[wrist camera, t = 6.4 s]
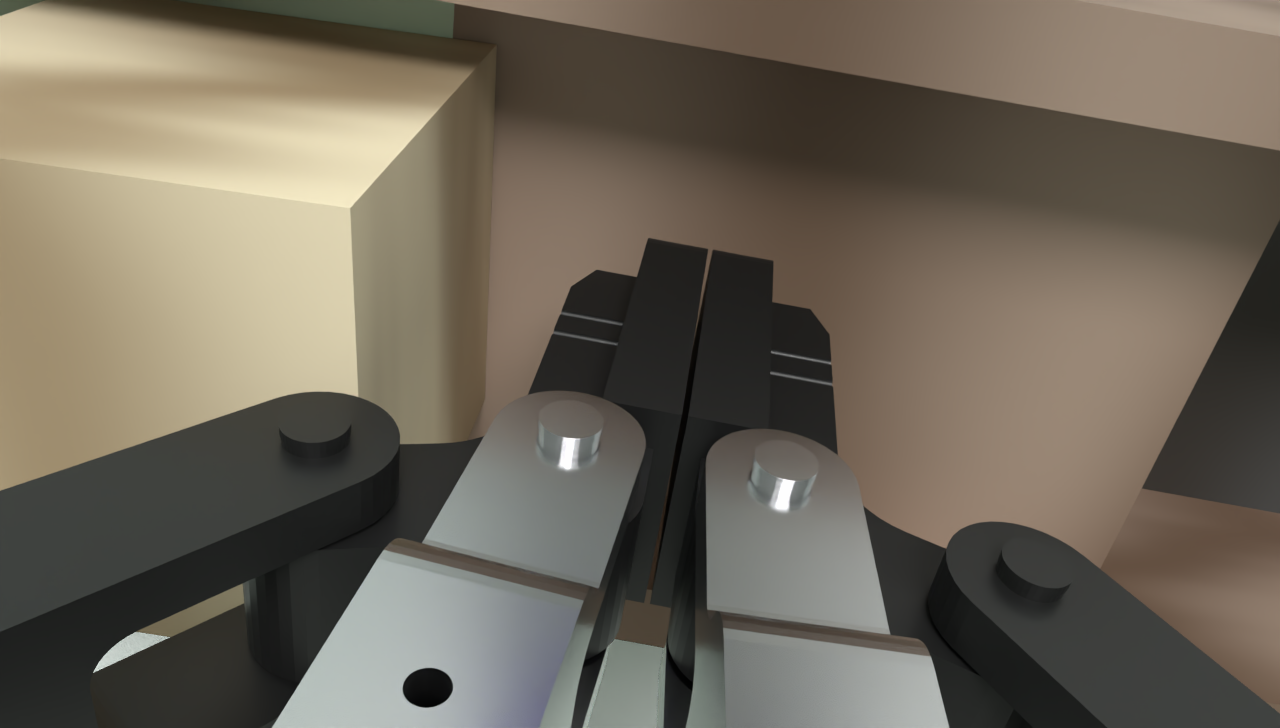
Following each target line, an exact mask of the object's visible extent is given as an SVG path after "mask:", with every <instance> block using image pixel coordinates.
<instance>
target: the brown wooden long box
mask: <svg viewBox="0 0 1280 728" xmlns="http://www.w3.org/2000/svg"><path fill="white" fill-rule="evenodd" d="M42 1H45V0H0V16H2V15H5V14H8V13H11V12H14V11H16V10H19V9H22V8H25V7H28V6H31V5H33V4H36V3H39V2H42ZM174 1H181V2H189V3H196V4H203V5H211V6H218V7H225V8H233V9H240V10H247V11H255V12H262V13H269V14H277V15H284V16H291V17H299V18H306V19H313V20H321V21H328V22H335V23H343V24H350V25H357V26H365V27H372V28H379V29H387V30H394V31H401V32H409V33H416V34H423V35H431V36H438V37H445V38H453V39H460V40H467V41H474V42H482V43H489V44H496V45H497V54H496V83H495V113H494V143H493V172H492V202H491V231H490V261H489V290H488V320H487V349H486V379H485V400H484V402H483V405H482V407H481V410H480V412H479V414H478V417H477V419H476V421H475V424H474V426H473V428H472V431H471V433H470V435H469V438H468V440H472V439H475V438H479V437H483V436H485V434H486V432H487V431H488V429H489V427H490V425H491V424H492V422H493V420H494V418H495V417H496V415H497V414H498V413H499V412H500V410H501V409H502V408H504V407H505V406H506V405H507V404H509V403H510V402H512V401H514V400H516V399H518V398H520V397H523V396H526V395H528V393H529V390H530V388H531V385H532V383H533V380H534V378H535V375H536V373H537V370H538V368H539V365H540V363H541V360H542V358H543V355H544V353H545V350H546V348H547V345H548V343H549V340H550V338H551V335H552V334H553V332H554V328H555V325H556V323H557V320H558V318H559V315H561V311H562V308H563V305H564V303H565V300H566V298H567V295H568V293H569V290H570V288H571V286H572V285H574V284H576V283H577V282H579V281H580V280H582V279H583V278H585V277H586V276H588V275H589V274H591V273H592V272H594V271H595V270H602V271H607V272H612V273H618V274H623V275H629V276H634V277H637V275H638V271H639V268H640V264H641V261H642V257H643V254H644V250H645V247H646V243H647V240H648V238H652V239H658V240H663V241H668V242H674V243H679V244H685V245H690V246H696V247H701V248H706V249H708V254H707V260H706V267H705V273H704V279H703V285H702V292H701V298H700V304H699V311H698V317H697V323H696V329H697V324H698V319H699V314H700V309H701V304H702V299H703V294H704V289H705V284H706V279H707V274H708V269H709V264H710V259H711V255H712V251H713V250H718V251H724V252H729V253H735V254H740V255H745V256H751V257H756V258H762V259H767V260H773V264H774V265H773V299H772V302H775V303H781V304H786V305H791V306H797V307H802V308H808V309H811V311H812V312H813V313H814V315H815V316H816V317H817V318H818V320H819V321H820V322H821V324H822V325H823V326H824V328H825V329H826V330H827V332H828V333H829V334H830V347H831V364H830V365H832V376H833V382H832V386H833V391H834V406H835V420H836V435H837V450H838V456H839V457H840V458H841V459H842V460H843V461H844V462H845V463H846V464H847V465H848V466H849V467H850V469H851V470H852V472H853V473H854V475H855V477H856V479H857V482H858V485H859V488H860V493H861V498H862V503H863V506H864V507H865V508H867V509H868V510H869V511H870V512H872V513H873V514H875V515H876V516H877V517H879V518H880V519H882V520H884V521H885V522H887V523H889V524H890V525H892V526H894V527H896V528H899V529H901V530H903V531H905V532H907V533H910V534H912V535H914V536H917V537H919V538H921V539H924V540H926V541H929V542H931V543H933V544H936V545H938V546H941V547H943V548H945V549H946V548H947V545H948V543H949V541H950V539H951V538H952V536H953V535H954V534H955V533H957V532H958V531H959V530H960V529H962V528H964V527H966V526H968V525H972V524H975V523H979V522H990V521H993V522H1007V523H1014V524H1019V525H1023V526H1026V527H1030V528H1033V529H1036V530H1039V531H1041V532H1044V533H1046V534H1049V535H1051V536H1053V537H1055V538H1057V539H1059V540H1061V541H1062V542H1064V543H1066V544H1067V545H1069V546H1071V547H1072V548H1074V549H1075V550H1077V551H1078V552H1079V553H1081V554H1082V555H1083V556H1085V557H1086V558H1087V559H1088V560H1090V561H1091V562H1092V563H1093V564H1095V565H1096V566H1097V567H1098V568H1100V569H1101V570H1102V571H1103V572H1105V573H1106V574H1107V575H1108V576H1110V577H1111V578H1112V579H1113V580H1115V581H1116V582H1117V583H1118V584H1120V585H1121V586H1122V587H1123V588H1124V589H1126V590H1127V591H1128V592H1129V593H1131V594H1132V595H1133V596H1134V597H1136V598H1137V599H1138V600H1139V601H1141V602H1142V603H1143V604H1144V605H1146V606H1147V607H1148V608H1149V609H1151V610H1152V611H1153V612H1154V613H1156V614H1157V615H1158V616H1159V617H1161V618H1162V619H1163V620H1164V621H1166V622H1167V623H1168V624H1169V625H1170V626H1172V627H1173V628H1174V629H1175V630H1177V631H1178V632H1179V633H1180V634H1182V635H1183V636H1184V637H1185V638H1187V639H1188V640H1189V641H1190V642H1192V643H1193V644H1194V645H1195V646H1197V647H1198V648H1199V649H1200V650H1202V651H1203V652H1204V653H1205V654H1207V655H1208V656H1209V657H1210V658H1212V659H1213V660H1214V661H1215V662H1216V663H1218V664H1219V665H1220V666H1221V667H1223V668H1224V669H1225V670H1226V671H1228V672H1229V673H1230V674H1231V675H1233V676H1234V677H1235V678H1236V679H1238V680H1239V681H1240V682H1241V683H1243V684H1244V685H1245V686H1246V687H1248V688H1249V689H1250V690H1251V691H1253V692H1254V693H1255V694H1256V695H1258V696H1259V697H1260V698H1261V699H1262V700H1264V701H1265V702H1266V703H1267V704H1269V705H1270V706H1271V707H1272V708H1274V709H1275V710H1276V711H1277V712H1279V713H1280V0H174ZM696 329H695V334H696ZM694 339H695V336H694ZM693 344H694V342H693ZM692 349H693V348H692ZM672 463H673V462H672ZM671 469H672V467H671ZM670 476H671V472H670ZM669 482H670V477H669ZM669 482H668V487H667V492H666V497H665V502H664V507H663V512H662V517H661V522H660V527H659V532H658V537H657V541H656V546H655V551H654V556H653V561H652V566H651V571H650V576H649V581H648V586H647V591H646V596H645V601H644V603H641V602H636V601H630V600H625V604H624V609H623V615H622V620H621V625H620V628H619V631H618V633H617V635H616V637H615V638H614V639H619V640H624V641H629V642H635V643H640V644H646V645H651V646H657V647H662V648H664V646H665V642H666V637H667V633H668V626H669V619H670V612H671V608H668V607H663V606H658V605H653V604H650V600H651V594H652V587H653V581H654V575H655V569H656V563H657V556H658V550H659V544H660V538H661V531H662V525H663V519H664V513H665V507H666V500H667V494H668V488H669Z"/></svg>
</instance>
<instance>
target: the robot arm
mask: <svg viewBox="0 0 1280 728" xmlns="http://www.w3.org/2000/svg"><path fill="white" fill-rule="evenodd" d="M707 254H708V249H706V248H701V247H696V246H690V245H685V244H679V243H674V242H668V241H663V240H658V239H652V238H648V240H647V243H646V247H645V250H644V254H643V257H642V261H641V264H640V268H639V271H638V275H637V277H634V276H629V275H623V274H618V273H612V272H607V271H602V270H595V271H594V272H592V273H591V274H589V275H588V276H586V277H585V278H583V279H582V280H580V281H579V282H577V283H576V284H574V285H572V286H571V288H570V290H569V293H568V295H567V298H566V300H565V303H564V305H563V308H562V311H561V315H559V318H558V320H557V323H556V325H555V328H554V332H553V334H552V335H551V338H550V340H549V343H548V345H547V348H546V350H545V353H544V355H543V358H542V360H541V363H540V365H539V368H538V370H537V373H536V375H535V378H534V380H533V383H532V385H531V388H530V390H529V393H528V395H526V396H523V397H520V398H518V399H516V400H514V401H512V402H510V403H509V404H507V405H506V406H505V407H504V408H502V409H501V410H500V412H499V413H498V414H497V415H496V417H495V418H494V420H493V422H492V424H491V425H490V427H489V429H488V431H487V432H486V434H485V436H483V437H479V438H475V439H472V440H467V441H461V442H453V443H434V444H400V433H399V429H398V426H397V424H396V422H395V421H394V419H393V418H392V417H391V416H390V415H389V414H388V413H387V412H386V411H385V410H384V409H382V408H381V407H379V406H378V405H376V404H374V403H372V402H370V401H368V400H365V399H362V398H360V397H357V396H353V395H348V394H344V393H336V392H302V393H296V394H290V395H286V396H282V397H278V398H275V399H272V400H269V401H266V402H263V403H260V404H257V405H254V406H251V407H248V408H245V409H242V410H239V411H236V412H233V413H230V414H227V415H224V416H221V417H218V418H215V419H212V420H209V421H206V422H203V423H200V424H197V425H194V426H191V427H188V428H185V429H182V430H180V431H177V432H174V433H171V434H168V435H165V436H162V437H159V438H156V439H153V440H150V441H147V442H144V443H141V444H138V445H135V446H132V447H129V448H126V449H123V450H120V451H117V452H114V453H111V454H108V455H105V456H102V457H99V458H96V459H93V460H90V461H87V462H84V463H81V464H78V465H75V466H72V467H69V468H66V469H63V470H60V471H57V472H54V473H51V474H48V475H46V476H43V477H40V478H37V479H34V480H31V481H28V482H25V483H22V484H19V485H16V486H13V487H10V488H7V489H4V490H1V491H0V728H587V726H588V723H589V720H590V717H591V713H592V710H593V707H594V703H595V700H596V697H597V693H598V690H599V687H600V683H601V680H602V677H603V673H604V670H605V667H606V662H607V657H608V651H609V646H610V643H611V642H612V641H613V640H614V638H615V637H616V635H617V633H618V631H619V628H620V625H621V620H622V615H623V609H624V604H625V600H630V601H636V602H641V603H644V601H645V596H646V591H647V586H648V581H649V576H650V571H651V566H652V561H653V556H654V551H655V546H656V541H657V537H658V532H659V527H660V522H661V517H662V512H663V507H664V502H665V497H666V492H667V487H668V482H669V477H670V482H669V488H668V494H667V500H666V507H665V513H664V519H663V525H662V531H661V538H660V544H659V550H658V556H657V563H656V569H655V575H654V581H653V587H652V594H651V600H650V604H653V605H658V606H663V607H668V608H671V612H670V619H669V626H668V633H667V637H666V642H665V646H664V651H663V655H662V660H661V664H660V670H659V678H658V702H657V726H656V728H1280V713H1279V712H1277V711H1276V710H1275V709H1274V708H1272V707H1271V706H1270V705H1269V704H1267V703H1266V702H1265V701H1264V700H1262V699H1261V698H1260V697H1259V696H1258V695H1256V694H1255V693H1254V692H1253V691H1251V690H1250V689H1249V688H1248V687H1246V686H1245V685H1244V684H1243V683H1241V682H1240V681H1239V680H1238V679H1236V678H1235V677H1234V676H1233V675H1231V674H1230V673H1229V672H1228V671H1226V670H1225V669H1224V668H1223V667H1221V666H1220V665H1219V664H1218V663H1216V662H1215V661H1214V660H1213V659H1212V658H1210V657H1209V656H1208V655H1207V654H1205V653H1204V652H1203V651H1202V650H1200V649H1199V648H1198V647H1197V646H1195V645H1194V644H1193V643H1192V642H1190V641H1189V640H1188V639H1187V638H1185V637H1184V636H1183V635H1182V634H1180V633H1179V632H1178V631H1177V630H1175V629H1174V628H1173V627H1172V626H1170V625H1169V624H1168V623H1167V622H1166V621H1164V620H1163V619H1162V618H1161V617H1159V616H1158V615H1157V614H1156V613H1154V612H1153V611H1152V610H1151V609H1149V608H1148V607H1147V606H1146V605H1144V604H1143V603H1142V602H1141V601H1139V600H1138V599H1137V598H1136V597H1134V596H1133V595H1132V594H1131V593H1129V592H1128V591H1127V590H1126V589H1124V588H1123V587H1122V586H1121V585H1120V584H1118V583H1117V582H1116V581H1115V580H1113V579H1112V578H1111V577H1110V576H1108V575H1107V574H1106V573H1105V572H1103V571H1102V570H1101V569H1100V568H1098V567H1097V566H1096V565H1095V564H1093V563H1092V562H1091V561H1090V560H1088V559H1087V558H1086V557H1085V556H1083V555H1082V554H1081V553H1079V552H1078V551H1077V550H1075V549H1074V548H1072V547H1071V546H1069V545H1067V544H1066V543H1064V542H1062V541H1061V540H1059V539H1057V538H1055V537H1053V536H1051V535H1049V534H1046V533H1044V532H1041V531H1039V530H1036V529H1033V528H1030V527H1026V526H1023V525H1019V524H1014V523H1007V522H993V521H990V522H979V523H975V524H972V525H968V526H966V527H964V528H962V529H960V530H959V531H958V532H957V533H955V534H954V535H953V536H952V538H951V539H950V541H949V543H948V545H947V548H946V549H945V548H943V547H941V546H938V545H936V544H933V543H931V542H929V541H926V540H924V539H921V538H919V537H917V536H914V535H912V534H910V533H907V532H905V531H903V530H901V529H899V528H896V527H894V526H892V525H890V524H889V523H887V522H885V521H884V520H882V519H880V518H879V517H877V516H876V515H875V514H873V513H872V512H870V511H869V510H868V509H867V508H865V507H864V506H863V503H862V498H861V493H860V488H859V485H858V482H857V479H856V477H855V475H854V473H853V472H852V470H851V469H850V467H849V466H848V465H847V464H846V463H845V462H844V461H843V460H842V459H841V458H840V457H839V456H838V450H837V435H836V420H835V406H834V391H833V386H832V382H833V376H832V365H830V364H831V347H830V334H829V333H828V332H827V330H826V329H825V328H824V326H823V325H822V324H821V322H820V321H819V320H818V318H817V317H816V316H815V315H814V313H813V312H812V311H811V309H808V308H802V307H797V306H791V305H786V304H781V303H775V302H772V299H773V265H774V264H773V260H767V259H762V258H756V257H751V256H745V255H740V254H735V253H729V252H724V251H718V250H713V251H712V255H711V259H710V264H709V269H708V274H707V279H706V284H705V289H704V294H703V299H702V304H701V309H700V314H699V319H698V324H697V329H696V323H697V317H698V311H699V304H700V298H701V292H702V285H703V279H704V273H705V267H706V260H707ZM695 329H696V334H695ZM694 336H695V339H694ZM693 342H694V344H693ZM692 348H693V349H692ZM672 462H673V463H672ZM671 467H672V469H671ZM670 472H671V476H670ZM240 584H243V594H244V603H243V604H241V605H239V606H237V607H235V608H232V609H230V610H228V611H226V612H224V613H222V614H220V615H217V616H215V617H213V618H211V619H209V620H207V621H204V622H202V623H200V624H198V625H196V626H194V627H192V628H189V629H187V630H185V631H183V632H181V633H179V634H176V635H174V636H172V637H170V638H168V639H166V640H164V641H161V642H159V643H157V644H155V645H153V646H151V647H148V648H146V649H144V650H142V651H140V652H138V653H136V654H133V655H131V656H129V657H127V658H125V659H123V660H121V661H118V662H116V663H114V664H112V665H110V666H108V667H105V668H103V669H101V670H99V671H97V672H95V673H93V671H94V669H95V668H96V666H97V664H98V662H99V661H100V660H101V659H102V657H103V656H104V655H105V654H106V653H107V652H108V651H109V650H110V649H111V648H112V647H113V646H114V645H116V644H117V643H118V642H119V641H121V640H122V639H124V638H125V637H127V636H129V635H131V634H133V633H134V632H136V631H139V630H141V629H143V628H145V627H147V626H150V625H152V624H154V623H156V622H158V621H161V620H163V619H165V618H167V617H170V616H172V615H174V614H176V613H178V612H181V611H183V610H185V609H187V608H190V607H192V606H194V605H196V604H198V603H201V602H203V601H205V600H207V599H209V598H212V597H214V596H216V595H218V594H221V593H223V592H225V591H227V590H229V589H232V588H234V587H236V586H238V585H240Z"/></svg>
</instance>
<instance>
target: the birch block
mask: <svg viewBox="0 0 1280 728" xmlns="http://www.w3.org/2000/svg"><path fill="white" fill-rule="evenodd" d="M496 54H497V45H496V44H489V43H482V42H474V41H467V40H460V39H453V38H445V37H438V36H431V35H423V34H416V33H409V32H401V31H394V30H387V29H379V28H372V27H365V26H357V25H350V24H343V23H335V22H328V21H321V20H313V19H306V18H299V17H291V16H284V15H277V14H269V13H262V12H255V11H247V10H240V9H233V8H225V7H218V6H211V5H203V4H196V3H189V2H181V1H174V0H45V1H42V2H39V3H36V4H33V5H31V6H28V7H25V8H22V9H19V10H16V11H14V12H11V13H8V14H5V15H2V16H0V491H1V490H4V489H7V488H10V487H13V486H16V485H19V484H22V483H25V482H28V481H31V480H34V479H37V478H40V477H43V476H46V475H48V474H51V473H54V472H57V471H60V470H63V469H66V468H69V467H72V466H75V465H78V464H81V463H84V462H87V461H90V460H93V459H96V458H99V457H102V456H105V455H108V454H111V453H114V452H117V451H120V450H123V449H126V448H129V447H132V446H135V445H138V444H141V443H144V442H147V441H150V440H153V439H156V438H159V437H162V436H165V435H168V434H171V433H174V432H177V431H180V430H182V429H185V428H188V427H191V426H194V425H197V424H200V423H203V422H206V421H209V420H212V419H215V418H218V417H221V416H224V415H227V414H230V413H233V412H236V411H239V410H242V409H245V408H248V407H251V406H254V405H257V404H260V403H263V402H266V401H269V400H272V399H275V398H278V397H282V396H286V395H290V394H296V393H302V392H336V393H344V394H348V395H353V396H357V397H360V398H362V399H365V400H368V401H370V402H372V403H374V404H376V405H378V406H379V407H381V408H382V409H384V410H385V411H386V412H387V413H388V414H389V415H390V416H391V417H392V418H393V419H394V421H395V422H396V424H397V426H398V429H399V433H400V444H434V443H453V442H461V441H467V440H468V438H469V435H470V433H471V431H472V428H473V426H474V424H475V421H476V419H477V417H478V414H479V412H480V410H481V407H482V405H483V402H484V400H485V379H486V349H487V320H488V290H489V261H490V231H491V202H492V172H493V143H494V113H495V83H496ZM243 603H244V594H243V584H240V585H238V586H236V587H234V588H232V589H229V590H227V591H225V592H223V593H221V594H218V595H216V596H214V597H212V598H209V599H207V600H205V601H203V602H201V603H198V604H196V605H194V606H192V607H190V608H187V609H185V610H183V611H181V612H178V613H176V614H174V615H172V616H170V617H167V618H165V619H163V620H161V621H158V622H156V623H154V624H152V625H150V626H147V627H145V628H143V629H141V630H139V631H136V632H142V633H148V634H154V635H161V636H167V637H172V636H174V635H176V634H179V633H181V632H183V631H185V630H187V629H189V628H192V627H194V626H196V625H198V624H200V623H202V622H204V621H207V620H209V619H211V618H213V617H215V616H217V615H220V614H222V613H224V612H226V611H228V610H230V609H232V608H235V607H237V606H239V605H241V604H243Z"/></svg>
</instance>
